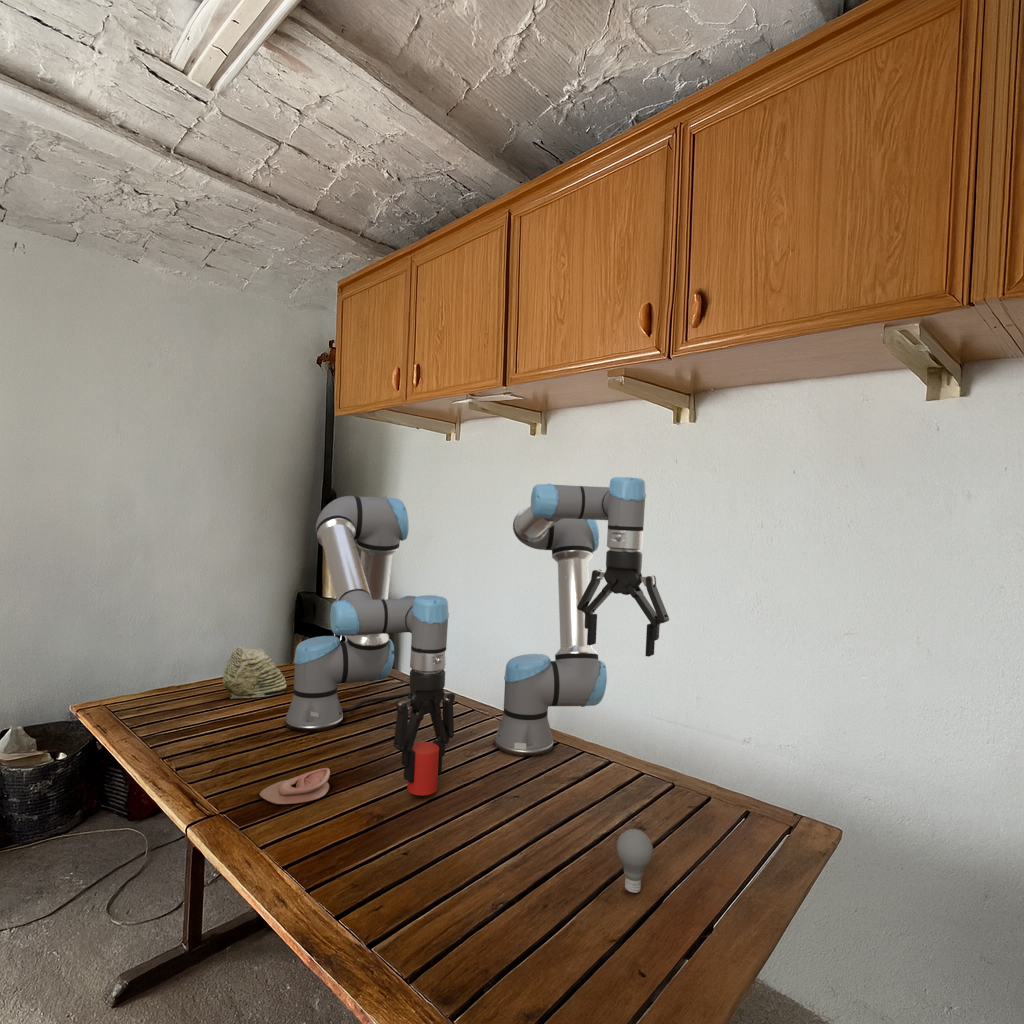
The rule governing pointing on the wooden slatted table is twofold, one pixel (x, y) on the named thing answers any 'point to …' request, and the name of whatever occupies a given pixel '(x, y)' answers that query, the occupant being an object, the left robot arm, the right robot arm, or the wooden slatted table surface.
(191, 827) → the wooden slatted table surface
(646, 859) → the light bulb
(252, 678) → the fossil
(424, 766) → the cylinder
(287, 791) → the anatomical model
